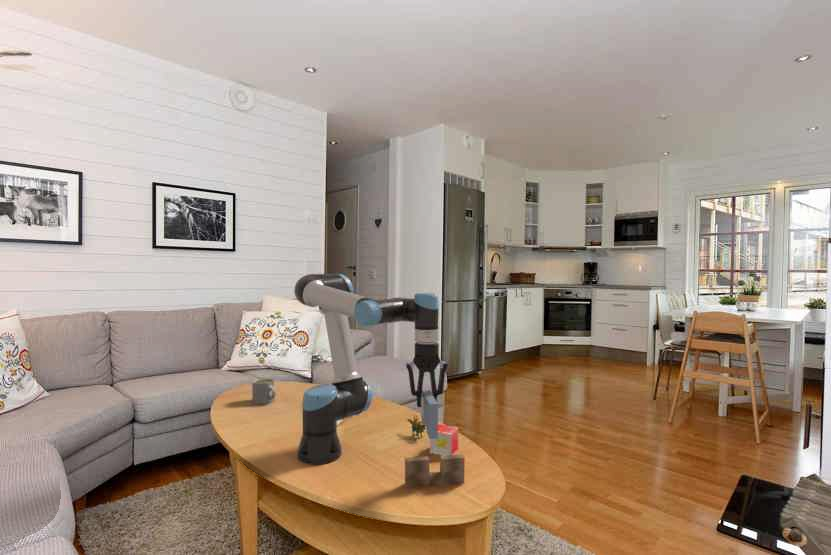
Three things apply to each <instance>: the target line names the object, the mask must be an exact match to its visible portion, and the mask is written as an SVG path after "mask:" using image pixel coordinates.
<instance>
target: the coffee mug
mask: <svg viewBox="0 0 831 555" xmlns="http://www.w3.org/2000/svg"><path fill="white" fill-rule="evenodd" d="M251 386H252V387H251V388H252V390H251V391H252V392H251V393H252V394H251V397H252V399H251V400H252V402H253V403H254V405H256V404H264V405H268V404H272V403H274V401H275V397H276V396H277V391H276V388H275V379H273V378H258V379H254V380H253V381H252V383H251ZM252 402H251V403H252ZM253 403H252V404H253Z"/></svg>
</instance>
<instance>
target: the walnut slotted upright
mask: <svg viewBox="0 0 831 555" xmlns="http://www.w3.org/2000/svg"><path fill="white" fill-rule="evenodd" d="M465 459H466V458H465V456H464V454H453V455H446V456H442V455H439V471H433V472H430V457H429V456H414V457H413V456H412V457H405V458H404V485H405V486H404V487H405V488H406V489H408V488H420V487H422V488H423V487H434V486H436V485H438V486H450V485H451V484H452V485H463V484H462V483H464V484H465ZM436 487H437V486H436Z"/></svg>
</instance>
